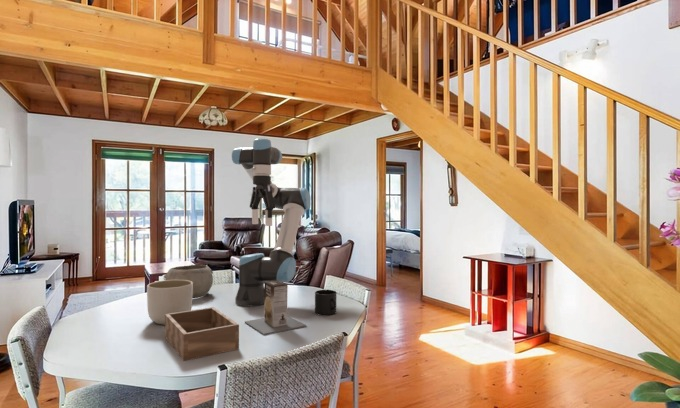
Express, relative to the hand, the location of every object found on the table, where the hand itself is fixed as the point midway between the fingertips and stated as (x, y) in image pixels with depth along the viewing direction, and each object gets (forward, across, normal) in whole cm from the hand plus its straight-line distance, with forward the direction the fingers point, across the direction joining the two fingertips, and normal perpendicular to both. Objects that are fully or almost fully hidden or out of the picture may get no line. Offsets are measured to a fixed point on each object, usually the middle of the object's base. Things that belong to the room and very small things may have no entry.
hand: (261, 225), depth 170 cm
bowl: (+39, -52, -16) cm, 67 cm away
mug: (+39, +14, +24) cm, 48 cm away
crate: (+38, +19, -32) cm, 53 cm away
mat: (+38, +16, -2) cm, 42 cm away
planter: (+39, -12, -34) cm, 53 cm away
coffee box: (+38, +16, -2) cm, 41 cm away
